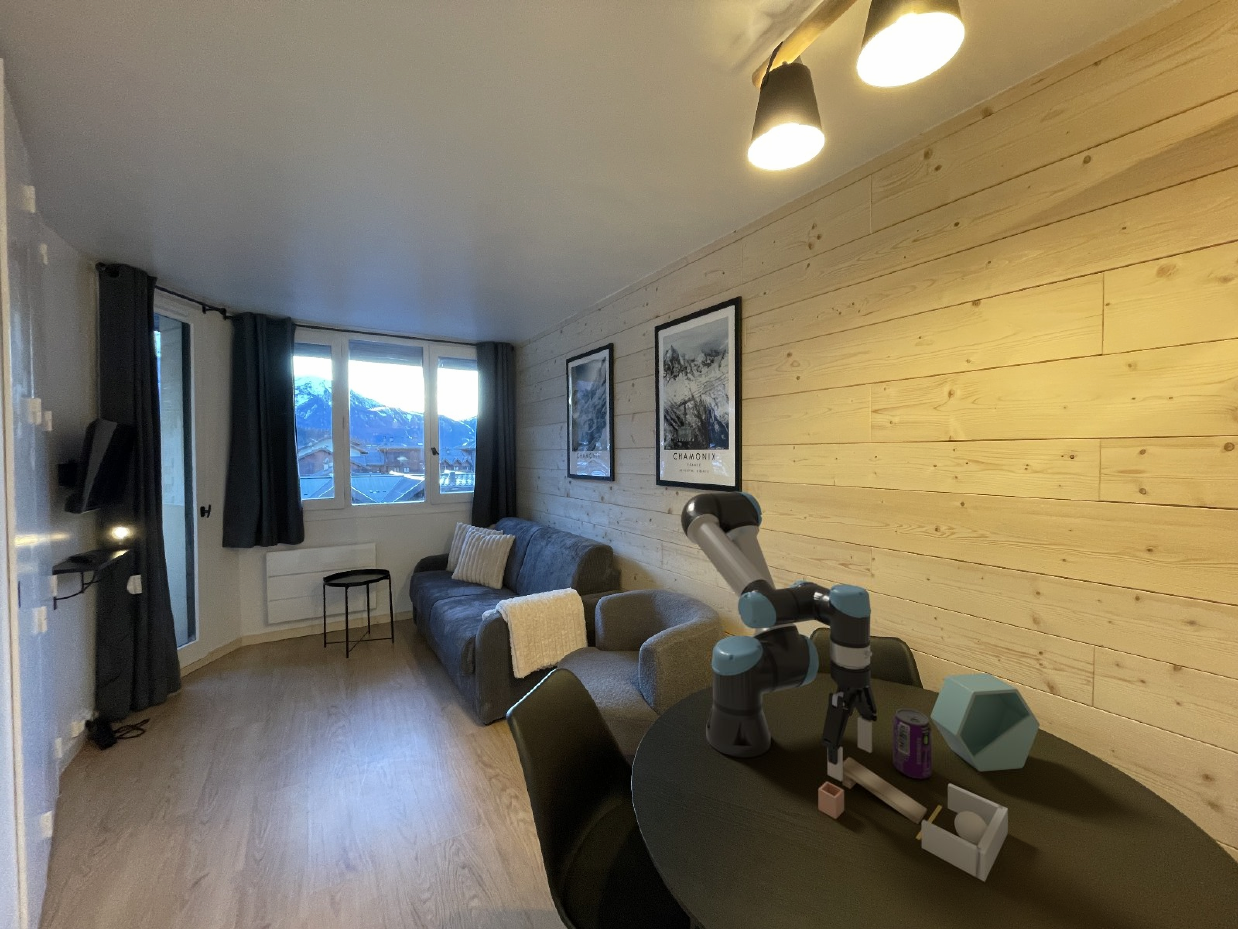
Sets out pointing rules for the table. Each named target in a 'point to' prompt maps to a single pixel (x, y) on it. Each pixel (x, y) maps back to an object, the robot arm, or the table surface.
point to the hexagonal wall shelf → (985, 721)
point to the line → (930, 820)
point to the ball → (970, 827)
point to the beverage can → (912, 743)
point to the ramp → (881, 790)
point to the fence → (960, 850)
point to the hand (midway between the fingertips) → (850, 763)
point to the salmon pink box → (831, 799)
